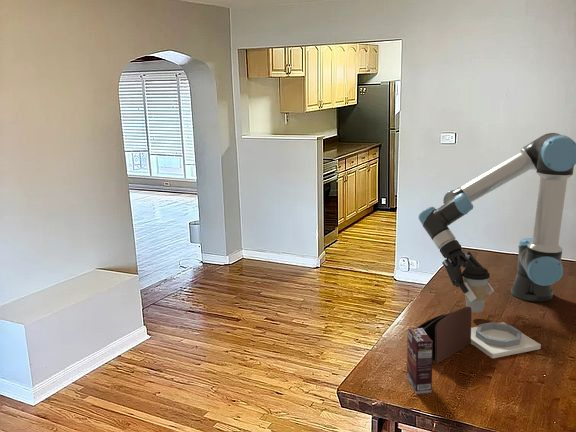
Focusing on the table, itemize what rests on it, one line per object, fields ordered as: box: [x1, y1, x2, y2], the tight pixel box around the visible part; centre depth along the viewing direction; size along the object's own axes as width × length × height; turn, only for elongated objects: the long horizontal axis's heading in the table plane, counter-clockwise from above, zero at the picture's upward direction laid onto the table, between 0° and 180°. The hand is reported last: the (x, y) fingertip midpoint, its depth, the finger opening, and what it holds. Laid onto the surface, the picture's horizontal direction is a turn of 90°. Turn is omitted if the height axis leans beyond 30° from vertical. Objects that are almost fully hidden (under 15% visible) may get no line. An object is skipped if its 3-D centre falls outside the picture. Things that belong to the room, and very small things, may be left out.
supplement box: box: [406, 327, 433, 395], centre depth 149 cm, size 9×5×16 cm, turn 5°
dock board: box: [471, 321, 542, 359], centre depth 174 cm, size 18×18×4 cm
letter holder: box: [416, 307, 473, 365], centre depth 170 cm, size 10×20×14 cm, turn 131°
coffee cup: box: [461, 266, 491, 314], centre depth 190 cm, size 9×9×15 cm
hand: (482, 296), depth 188 cm, fingers closed on coffee cup, 9 cm apart
